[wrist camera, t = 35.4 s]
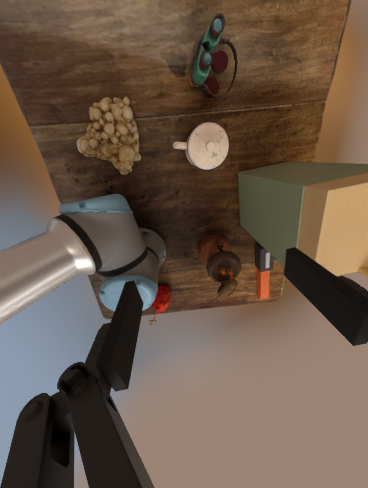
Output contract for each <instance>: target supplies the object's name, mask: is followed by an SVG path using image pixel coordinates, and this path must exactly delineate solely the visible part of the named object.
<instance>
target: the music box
mask: <svg viewBox="0 0 368 488" xmlns="http://www.w3.org/2000/svg"><path fill="white" fill-rule="evenodd" d="M198 253H199V256H200V259H201V261H202V262H203V263H205V264H206V265H207V273H208V275H209V276H210V277H211V278H212V279H213V280H214V281H215V282H216V281H217V282H220V283H221V286H219V290H218V294H219V293H221V294H220V295H218V296H217V297H216V299H218V300H223V301H224V299H225V296H226V295H228V296H229V295H231V294H232V293H233V292H234V291H235V289H236V287H237V285H238V283H237V281H236V280H235V279H234V278H236V277H237V276H238V274H239V273H240V270H241V261H240V259H239V258H238V256H237V255H236V254H234V253H232V252H231V246H230V244H229V242H228V241H227V239H226V238H225V237H224V236H222V235H219V234H210V235H208V236H206V237H204V238H203V239H202V240H201V241H200V243H199V245H198ZM224 282H225V283H224ZM218 285H219V284H218Z"/></svg>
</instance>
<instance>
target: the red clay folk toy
mask: <svg viewBox="0 0 368 488" xmlns="http://www.w3.org/2000/svg"><path fill="white" fill-rule="evenodd" d="M157 287H158V291H157V294H156V298H155V300H154V302H153V303H152V306H153V308H154V309H155V310H156V312H155V316H156V315H157V314H156V313H161V312H164V311H165V310H166V308H167V307H169V304H170V300H171V294H172V292H171V290H170V286H168V285H166V286H165V285H159V286H157ZM153 322H154V319H153V320H152V322H151V323H150V325H152V324H153Z"/></svg>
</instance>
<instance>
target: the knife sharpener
mask: <svg viewBox="0 0 368 488" xmlns="http://www.w3.org/2000/svg"><path fill="white" fill-rule="evenodd" d="M273 262H274V257H273V256H272V255H271V254H270V253H269V252H268V251H267V250H266V249H265V248H264V247H263V246H261V245H260V244H255V266H256V267H257V295H258V296H259V298H260V299H265V298H269V277H270V270H273Z"/></svg>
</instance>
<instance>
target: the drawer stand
mask: <svg viewBox="0 0 368 488" xmlns="http://www.w3.org/2000/svg"><path fill="white" fill-rule="evenodd" d="M238 189H239V209H240V226H242V227H243V228H244V229H245V230H246V231H247V232H248V233H249V234H250V235H251V236H252V237H253V238H254V239H255V240H256V241H257V242H258V243H259V244H260V245H261V246H263V247H264V248H265V249H266V250H267V251H268V252H269V253H270V254H271V255H272V256H273V257H274V258H275V259H276V260H277V261H278V262H279V263H280V264H281V265H282V266H284V267H285V257H286V249H288V248H293V247H296V248H297V249H299V250H300V251H302V252H303V253H304V254H306V255H307V256H309V257H310V258H311V259H313V260H314V261H316V262H317V263H318V264H320V265H321V266H323V267H324V268H326V269H327V270H328V271H330V272H331V273H333V274H334V275H335V276H338V275H343V274H348V273H352V272H359V273H361V274H363V275H365V276H366V277H368V164H347V163H345V164H344V163H313V162H284V163H279V164H275V165H270V166H266V167H261V168H256V169H252V170H247V171H242V172H238Z"/></svg>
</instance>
